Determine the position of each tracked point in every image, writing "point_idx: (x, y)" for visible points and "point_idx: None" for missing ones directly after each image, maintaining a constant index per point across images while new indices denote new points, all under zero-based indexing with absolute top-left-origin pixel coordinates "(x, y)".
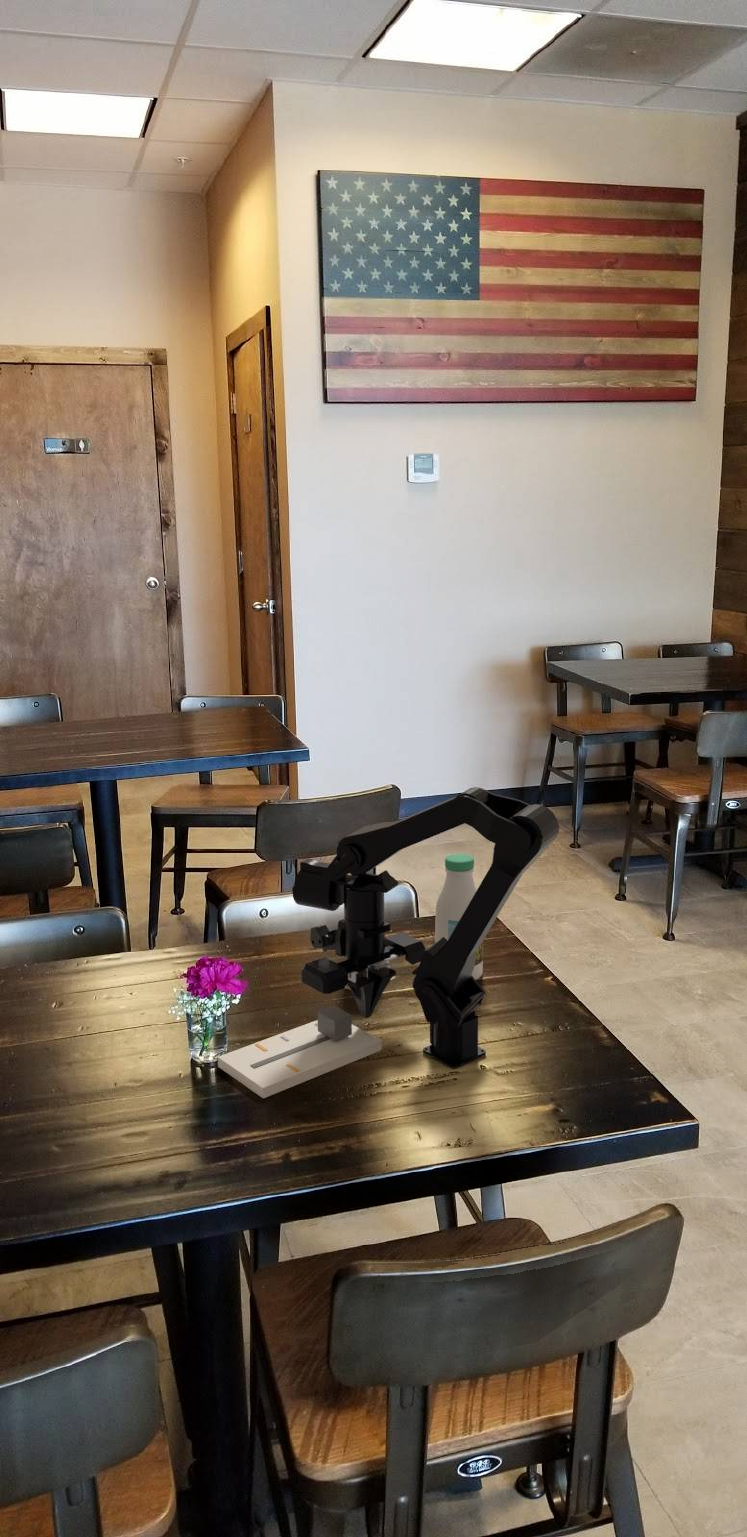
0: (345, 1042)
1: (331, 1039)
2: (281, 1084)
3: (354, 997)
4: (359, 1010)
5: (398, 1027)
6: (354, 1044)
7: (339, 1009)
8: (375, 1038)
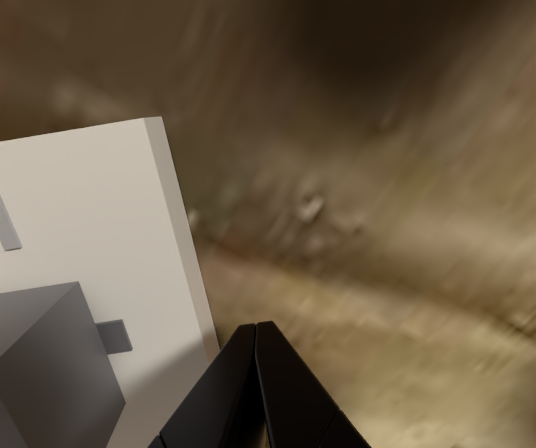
0: None
1: None
2: None
3: (167, 428)
4: (224, 347)
5: (407, 308)
6: (114, 445)
7: (9, 441)
8: None
